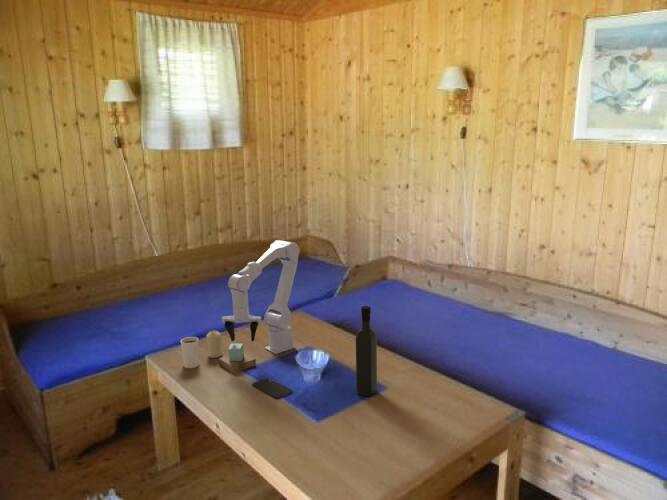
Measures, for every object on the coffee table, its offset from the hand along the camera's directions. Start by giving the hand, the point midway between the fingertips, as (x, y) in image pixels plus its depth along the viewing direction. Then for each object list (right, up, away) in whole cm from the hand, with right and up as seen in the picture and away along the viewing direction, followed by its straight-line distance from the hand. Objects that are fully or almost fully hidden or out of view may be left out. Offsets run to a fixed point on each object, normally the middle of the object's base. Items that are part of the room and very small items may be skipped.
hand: (243, 340), depth 206 cm
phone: (+13, -14, -18) cm, 27 cm away
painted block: (-2, -7, 0) cm, 7 cm away
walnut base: (-2, -10, +1) cm, 10 cm away
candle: (-13, -8, +10) cm, 18 cm away
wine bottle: (+45, -14, -23) cm, 53 cm away
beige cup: (-20, -10, +2) cm, 22 cm away
